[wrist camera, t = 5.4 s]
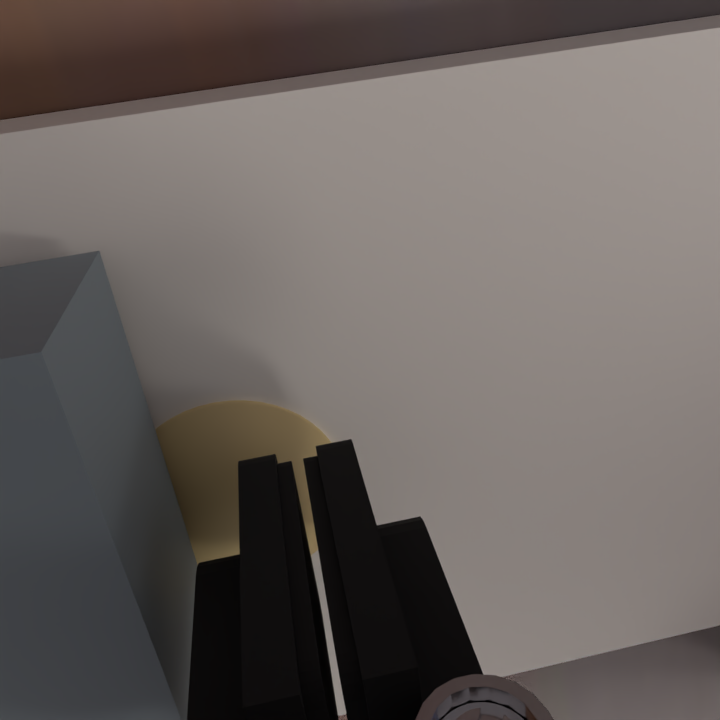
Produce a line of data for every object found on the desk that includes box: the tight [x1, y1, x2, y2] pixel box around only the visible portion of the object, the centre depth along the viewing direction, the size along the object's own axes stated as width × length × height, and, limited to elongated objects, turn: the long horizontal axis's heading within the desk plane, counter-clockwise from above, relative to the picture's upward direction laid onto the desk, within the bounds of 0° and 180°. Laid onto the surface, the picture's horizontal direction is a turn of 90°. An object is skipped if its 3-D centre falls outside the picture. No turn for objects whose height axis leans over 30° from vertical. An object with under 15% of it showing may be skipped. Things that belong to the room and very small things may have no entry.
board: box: [0, 15, 720, 716], centre depth 12 cm, size 24×12×2 cm, turn 97°
